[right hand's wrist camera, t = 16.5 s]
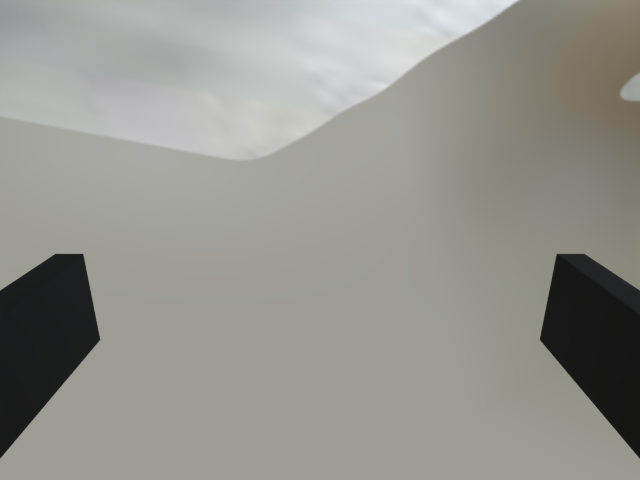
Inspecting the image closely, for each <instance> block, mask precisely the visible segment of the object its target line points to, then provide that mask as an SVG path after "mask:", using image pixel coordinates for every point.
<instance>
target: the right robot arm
mask: <svg viewBox="0 0 640 480" xmlns="http://www.w3.org/2000/svg"><path fill="white" fill-rule="evenodd" d="M540 340H541V342H542V343H543V344H544V345H545V346H546V348H547V349H548V350H549V351H550V352H551V353H552V355H553V356H554V357H555V358H556V359H557V361H558V362H559V363H560V364H561V365H562V367H563V368H564V369H565V370H566V371H567V373H568V374H569V375H570V376H571V377H572V379H573V380H574V381H575V382H576V383H577V384H578V386H579V387H580V388H581V389H582V390H583V392H584V393H585V394H586V395H587V396H588V398H589V399H590V400H591V401H592V402H593V403H594V405H595V406H596V407H597V408H598V409H599V411H600V412H601V413H602V414H603V415H604V417H605V418H606V419H607V420H608V421H609V422H610V424H611V425H612V426H613V427H614V428H615V430H616V431H617V432H618V433H619V434H620V435H621V437H622V438H623V439H624V440H625V441H626V443H627V444H628V445H629V446H630V447H631V449H632V450H633V451H634V452H635V453H636V455H637V456H638V457H639V458H640V290H638V289H637V288H635V287H634V286H632V285H630V284H629V283H627V282H626V281H624V280H623V279H621V278H620V277H618V276H617V275H615V274H614V273H612V272H611V271H609V270H608V269H606V268H605V267H603V266H602V265H600V264H599V263H597V262H596V261H594V260H593V259H591V258H590V257H588V256H587V255H585V254H557V256H556V261H555V266H554V271H553V276H552V281H551V286H550V291H549V296H548V301H547V306H546V311H545V316H544V321H543V326H542V331H541V336H540ZM99 341H100V336H99V332H98V326H97V321H96V316H95V311H94V306H93V301H92V296H91V291H90V286H89V281H88V276H87V271H86V266H85V261H84V256H83V254H55V255H53V256H52V257H50V258H49V259H47V260H46V261H44V262H43V263H41V264H40V265H38V266H37V267H35V268H34V269H32V270H31V271H29V272H28V273H26V274H25V275H23V276H22V277H20V278H19V279H17V280H16V281H14V282H13V283H11V284H10V285H8V286H6V287H5V288H4V289H2V290H1V291H0V458H1V457H2V456H3V455H4V453H5V452H6V451H7V450H8V449H9V447H10V446H11V445H12V444H13V443H14V441H15V440H16V439H17V438H18V437H19V435H20V434H21V433H22V432H23V431H24V430H25V428H26V427H27V426H28V425H29V424H30V422H31V421H32V420H33V419H34V418H35V417H36V415H37V414H38V413H39V412H40V411H41V409H42V408H43V407H44V406H45V405H46V403H47V402H48V401H49V400H50V399H51V397H52V396H53V395H54V394H55V393H56V392H57V390H58V389H59V388H60V387H61V386H62V384H63V383H64V382H65V381H66V380H67V379H68V377H69V376H70V375H71V374H72V373H73V371H74V370H75V369H76V368H77V367H78V365H79V364H80V363H81V362H82V361H83V360H84V358H85V357H86V356H87V355H88V353H89V352H90V351H91V350H92V349H93V348H94V346H95V345H96V344H97V343H98V342H99Z"/></svg>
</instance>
